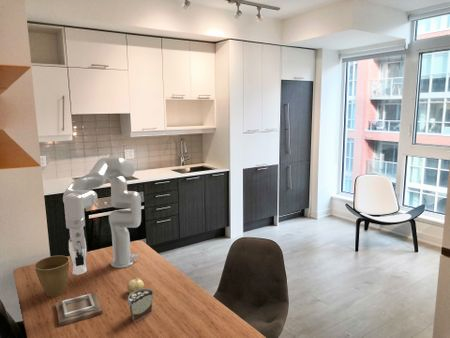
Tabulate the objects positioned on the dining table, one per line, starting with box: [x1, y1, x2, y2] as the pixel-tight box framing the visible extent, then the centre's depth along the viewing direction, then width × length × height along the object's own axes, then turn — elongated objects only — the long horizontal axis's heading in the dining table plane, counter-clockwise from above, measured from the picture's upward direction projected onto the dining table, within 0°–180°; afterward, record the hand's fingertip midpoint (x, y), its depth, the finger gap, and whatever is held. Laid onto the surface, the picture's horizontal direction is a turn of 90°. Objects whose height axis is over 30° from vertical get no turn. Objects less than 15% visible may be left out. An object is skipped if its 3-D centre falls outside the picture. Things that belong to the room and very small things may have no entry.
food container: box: [127, 288, 155, 323], centre depth 147 cm, size 12×6×10 cm, turn 141°
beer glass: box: [68, 238, 88, 276], centre depth 149 cm, size 7×7×15 cm
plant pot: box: [33, 255, 70, 298], centre depth 164 cm, size 15×15×16 cm
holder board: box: [55, 292, 103, 327], centre depth 151 cm, size 17×17×3 cm
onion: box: [126, 276, 145, 294], centre depth 165 cm, size 8×8×7 cm
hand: (78, 261), depth 149 cm, fingers closed on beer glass, 6 cm apart
